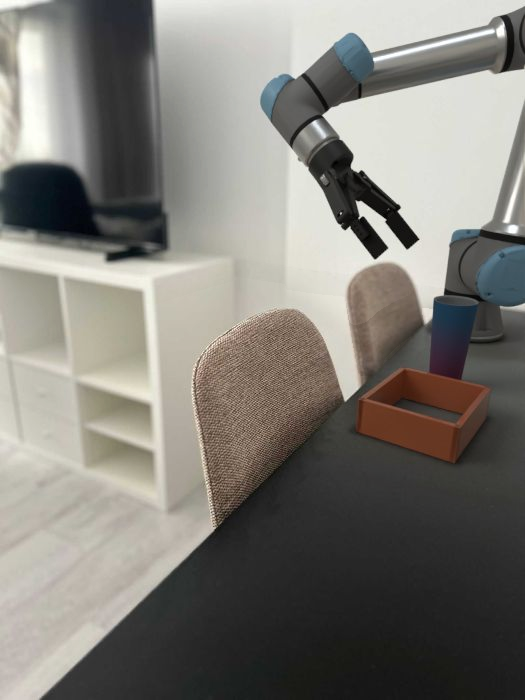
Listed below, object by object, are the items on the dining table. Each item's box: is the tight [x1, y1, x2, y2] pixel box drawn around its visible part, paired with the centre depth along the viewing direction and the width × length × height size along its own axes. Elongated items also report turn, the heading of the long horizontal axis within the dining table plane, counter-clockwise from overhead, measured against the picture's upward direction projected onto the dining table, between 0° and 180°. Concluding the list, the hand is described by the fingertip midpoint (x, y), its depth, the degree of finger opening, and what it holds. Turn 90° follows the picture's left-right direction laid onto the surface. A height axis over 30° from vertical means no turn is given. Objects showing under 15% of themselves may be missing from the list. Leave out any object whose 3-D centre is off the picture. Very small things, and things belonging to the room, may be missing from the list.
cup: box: [428, 294, 479, 380], centre depth 85 cm, size 7×7×15 cm
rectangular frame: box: [355, 366, 492, 464], centre depth 73 cm, size 16×14×5 cm
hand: (398, 249), depth 86 cm, fingers open, 13 cm apart
